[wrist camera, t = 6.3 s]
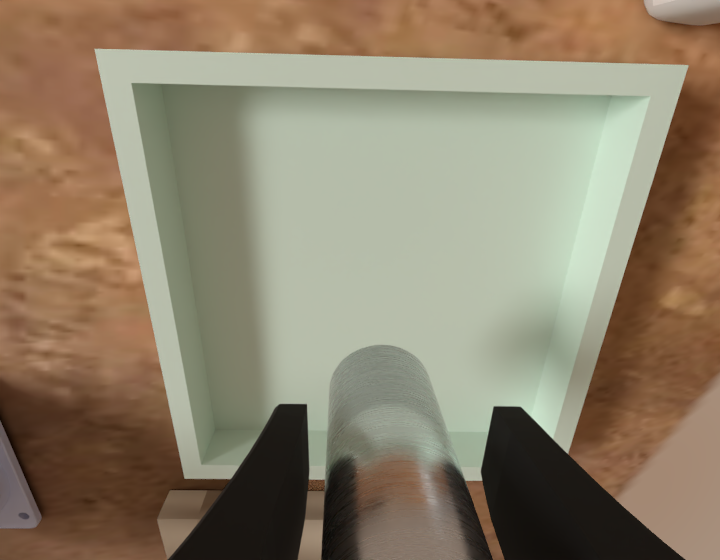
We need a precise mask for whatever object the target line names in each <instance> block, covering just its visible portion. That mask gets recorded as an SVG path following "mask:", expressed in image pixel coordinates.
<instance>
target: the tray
mask: <svg viewBox="0 0 720 560" xmlns="http://www.w3.org/2000/svg"><path fill="white" fill-rule="evenodd" d="M95 53H96V58H97V63H98V68H99V72H100V77H101V82H102V87H103V92H104V96H105V101H106V106H107V111H108V115H109V120H110V125H111V130H112V135H113V139H114V144H115V149H116V154H117V158H118V163H119V168H120V173H121V178H122V182H123V187H124V192H125V197H126V201H127V206H128V211H129V216H130V221H131V225H132V230H133V235H134V240H135V244H136V249H137V254H138V259H139V264H140V268H141V273H142V278H143V283H144V287H145V292H146V297H147V302H148V307H149V311H150V316H151V321H152V326H153V330H154V335H155V340H156V345H157V350H158V354H159V359H160V364H161V369H162V373H163V378H164V383H165V388H166V393H167V397H168V402H169V407H170V412H171V416H172V421H173V426H174V431H175V436H176V440H177V445H178V450H179V455H180V459H181V464H182V469H183V474H184V479H231V478H232V477H233V475H234V474H235V472H236V471H237V469H238V468H239V466H240V465H241V463H242V462H243V460H244V459H245V458H246V456H247V455H248V453H249V452H250V450H251V448H252V447H253V445H254V444H255V442H256V440H257V439H258V437H259V435H260V434H261V432H262V430H263V429H264V427H265V425H266V424H267V422H268V420H269V418H270V416H271V414H272V413H273V411H274V409H275V407H276V406H278V405H279V404H307V417H308V444H309V480H325V469H326V448H327V427H328V407H329V387H330V381H331V377H332V375H333V373H334V371H335V369H336V367H337V366H338V365H339V364H340V362H341V361H342V360H343V359H344V358H346V357H347V356H348V355H350V354H351V353H353V352H355V351H357V350H359V349H361V348H365V347H368V346H373V345H391V346H396V347H399V348H402V349H404V350H406V351H408V352H410V353H412V354H413V355H414V356H416V357H417V358H418V359H419V360H420V361H421V362H422V364H423V365H424V367H425V368H426V370H427V373H428V375H429V378H430V381H431V384H432V387H433V389H434V392H435V395H436V398H437V401H438V404H439V407H440V410H441V412H442V415H443V418H444V421H445V424H446V427H447V430H448V432H449V435H450V438H451V441H452V444H453V447H454V450H455V453H456V455H457V458H458V461H459V464H460V467H461V470H462V473H463V476H464V478H465V481H482V476H481V467H482V462H483V457H484V452H485V447H486V442H487V437H488V432H489V427H490V422H491V417H492V412H493V407H494V406H519V407H522V408H523V409H524V410H525V411H526V412H527V413H528V414H529V415H530V416H531V417H532V418H533V419H534V420H535V421H536V422H537V423H538V424H539V425H540V426H541V427H542V428H543V429H544V431H545V432H546V433H547V434H548V435H549V436H550V437H551V438H552V439H553V440H554V441H555V442H556V443H557V444H558V445H559V446H560V447H561V448H562V449H563V450H564V451H565V452H566V453H567V454H568V452H569V449H570V446H571V443H572V439H573V436H574V433H575V430H576V426H577V423H578V420H579V417H580V414H581V410H582V407H583V404H584V401H585V397H586V394H587V391H588V388H589V385H590V381H591V378H592V375H593V372H594V368H595V365H596V362H597V359H598V356H599V352H600V349H601V346H602V343H603V339H604V336H605V333H606V330H607V327H608V323H609V320H610V317H611V314H612V310H613V307H614V304H615V301H616V298H617V294H618V291H619V288H620V285H621V281H622V278H623V275H624V272H625V269H626V265H627V262H628V259H629V256H630V252H631V249H632V246H633V243H634V240H635V236H636V233H637V230H638V227H639V223H640V220H641V217H642V214H643V211H644V207H645V204H646V201H647V198H648V194H649V191H650V188H651V185H652V182H653V178H654V175H655V172H656V169H657V165H658V162H659V159H660V156H661V153H662V149H663V146H664V143H665V140H666V136H667V133H668V130H669V127H670V124H671V120H672V117H673V114H674V111H675V107H676V104H677V101H678V98H679V95H680V91H681V88H682V85H683V82H684V78H685V75H686V72H687V69H688V66H689V65H665V64H628V63H592V62H555V61H519V60H483V59H446V58H410V57H373V56H337V55H301V54H264V53H228V52H191V51H155V50H119V49H95Z"/></svg>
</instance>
